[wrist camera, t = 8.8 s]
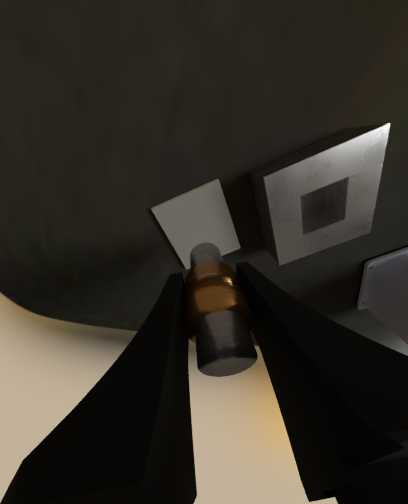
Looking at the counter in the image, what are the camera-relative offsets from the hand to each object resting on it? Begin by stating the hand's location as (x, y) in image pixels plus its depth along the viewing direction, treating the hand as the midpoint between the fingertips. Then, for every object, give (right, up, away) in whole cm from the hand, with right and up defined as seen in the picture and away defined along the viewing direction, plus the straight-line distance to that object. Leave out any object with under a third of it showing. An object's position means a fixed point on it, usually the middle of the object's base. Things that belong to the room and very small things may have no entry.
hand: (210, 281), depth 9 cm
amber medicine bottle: (0, +1, +2) cm, 3 cm away
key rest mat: (-1, +4, +6) cm, 7 cm away
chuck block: (+8, +7, +6) cm, 12 cm away
